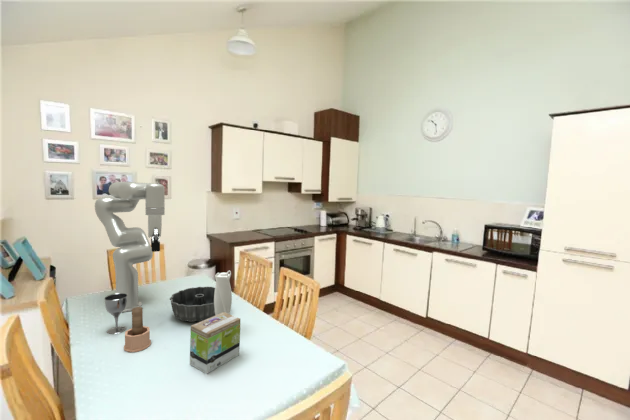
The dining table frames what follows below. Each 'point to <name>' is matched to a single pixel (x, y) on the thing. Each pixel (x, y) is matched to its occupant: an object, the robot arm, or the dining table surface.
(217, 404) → the dining table surface
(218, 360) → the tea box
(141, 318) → the brown wooden dowel
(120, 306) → the wine glass
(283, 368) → the dining table surface
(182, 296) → the bundt pan
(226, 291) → the skyscraper
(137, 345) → the octagonal terracotta pot
